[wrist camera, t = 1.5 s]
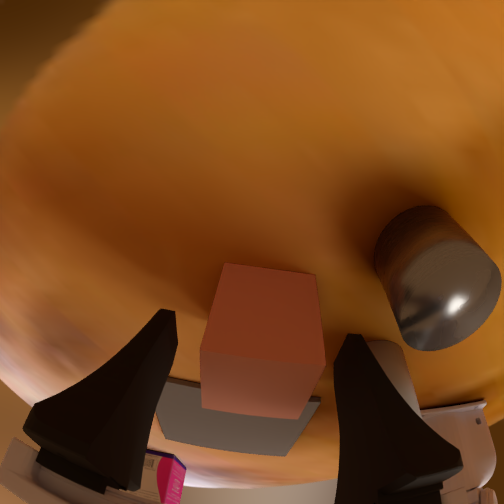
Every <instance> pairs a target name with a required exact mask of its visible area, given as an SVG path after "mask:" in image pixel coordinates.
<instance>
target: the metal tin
mask: <svg viewBox="0 0 504 504" xmlns="http://www.w3.org/2000/svg"><path fill="white" fill-rule="evenodd" d="M374 263H375V268H376V271H377V273H378V276H379V278H380V281H381V283H382V285H383V288H384V290H385V293H386V295H387V298H388V300H389V303H390V305H391V308H392V311H393V313H394V316H395V319H396V321H397V324H398V327H399V329H400V332H401V335H402V337H403V339H404V341H405V342H406V343H407V344H408V345H409V346H411V347H412V348H414V349H417V350H422V351H435V350H440V349H444V348H447V347H450V346H452V345H455V344H457V343H459V342H461V341H462V340H464V339H465V338H467V337H468V336H470V335H471V334H472V333H474V332H475V331H476V330H477V329H478V328H479V327H480V326H481V325H482V324H483V323H484V322H485V321H486V319H487V318H488V317H489V315H490V314H491V312H492V311H493V309H494V307H495V305H496V303H497V301H498V298H499V295H500V291H501V274H500V271H499V269H498V267H497V266H496V264H495V263H494V262H493V261H492V260H491V258H490V257H489V256H488V255H487V254H486V253H485V252H484V250H483V249H482V248H481V247H480V246H479V245H478V244H477V243H476V242H475V241H474V240H473V238H472V237H471V236H470V235H469V234H468V233H467V232H466V231H465V230H464V229H463V228H462V227H461V226H460V225H459V224H458V223H457V222H456V221H455V220H454V219H453V218H452V217H451V216H450V215H449V214H448V213H446V212H445V211H444V210H442V209H440V208H438V207H435V206H426V205H424V206H417V207H413V208H410V209H408V210H406V211H404V212H402V213H400V214H399V215H398V216H396V217H395V218H394V219H393V220H392V221H390V223H389V224H388V225H387V226H386V227H385V229H384V230H383V231H382V233H381V235H380V237H379V239H378V241H377V244H376V247H375V252H374Z"/></svg>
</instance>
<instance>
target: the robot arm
mask: <svg viewBox="0 0 504 504" xmlns="http://www.w3.org/2000/svg"><path fill="white" fill-rule="evenodd" d="M177 345H178V338H177V328H176V316H175V311H172V310H166V309H160V310H159V311H158V312H157V313H156V314H155V315H154V316H153V317H152V318H151V320H150V321H149V322H148V323H147V324H146V325H145V326H144V327H143V328H142V329H141V330H140V332H139V333H138V334H137V335H136V336H135V337H134V338H133V339H132V340H131V341H130V342H129V343H128V344H127V345H126V346H124V347H123V348H122V349H121V350H120V351H119V352H118V353H117V354H116V355H115V356H113V357H112V358H111V359H110V360H109V361H107V362H106V363H105V364H104V365H102V366H101V367H100V368H99V369H97V370H96V371H94V372H93V373H92V374H90V375H89V376H87V377H86V378H84V379H83V380H81V381H80V382H78V383H76V384H75V385H73V386H71V387H69V388H67V389H66V390H64V391H62V392H60V393H58V394H56V395H54V396H52V397H49V398H47V399H45V400H42V401H40V402H38V403H35V404H34V406H33V408H32V409H31V411H30V413H29V415H28V417H27V419H26V421H25V424H24V426H23V431H24V432H25V433H26V434H27V435H28V436H29V437H30V438H31V439H32V440H33V441H34V442H36V443H37V444H38V445H39V446H40V447H41V449H40V451H39V452H38V451H37V450H35V449H34V448H32V447H30V446H29V445H27V444H25V443H24V442H22V441H20V440H19V439H17V438H16V437H13V438H12V440H11V443H10V445H9V447H8V449H7V452H6V454H5V456H4V459H3V461H2V463H1V466H0V484H1V485H2V486H4V487H5V488H7V489H8V490H9V491H11V492H12V493H13V494H15V495H16V496H18V497H19V498H20V499H22V500H23V501H25V502H26V503H28V504H163V503H159V502H156V501H152V500H148V499H145V498H142V497H138V496H135V495H132V494H129V493H126V492H123V491H120V490H119V489H122V490H125V491H127V490H129V491H132V492H135V491H137V490H139V489H140V488H141V480H142V472H143V466H144V460H145V454H146V449H147V444H148V439H149V434H150V430H151V426H152V421H153V417H154V413H155V410H156V407H157V404H158V402H159V399H160V396H161V394H162V391H163V388H164V386H165V383H166V381H167V378H168V375H169V373H170V370H171V367H172V365H173V361H174V357H175V353H176V349H177ZM334 389H335V397H336V405H337V412H338V420H339V430H340V455H339V472H338V482H337V490H336V497H335V503H334V504H498V502H497V498H496V495H495V492H494V490H491V489H489V488H485V489H484V490H483V489H482V488H480V487H482V486H483V485H484V484H485V483H487V482H488V480H489V479H490V478H491V476H492V474H493V472H494V469H495V465H496V453H495V449H494V445H493V442H492V438H491V435H490V431H489V428H488V425H487V422H486V419H485V416H484V413H483V410H482V408H483V407H484V406H485V405H486V404H487V403H486V400H484V401H479V402H474V403H468V404H462V405H456V406H450V407H443V408H435V409H427V410H420V412H421V416H422V419H421V418H420V417H419V416H418V415H417V414H416V412H415V411H414V410H413V409H412V408H411V407H410V406H409V404H408V403H407V402H406V401H405V400H404V399H403V397H402V396H401V395H400V393H399V392H398V391H397V389H396V388H395V387H394V385H393V384H392V382H391V381H390V380H389V378H388V377H387V375H386V373H385V372H384V370H383V369H382V367H381V366H380V364H379V363H378V361H377V359H376V358H375V356H374V354H373V353H372V351H371V350H370V348H369V346H368V345H367V343H366V341H365V340H364V338H363V337H362V335H361V334H348V335H347V337H346V339H345V341H344V343H343V345H342V347H341V349H340V351H339V353H338V355H337V357H336V359H335V361H334Z"/></svg>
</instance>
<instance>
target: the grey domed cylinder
mask: <svg viewBox="0 0 504 504" xmlns="http://www.w3.org/2000/svg"><path fill="white" fill-rule="evenodd" d="M366 343H367V345H368V346H369V348H370V350H371V351H372V353H373V354H374V356H375V358H376V359H377V361H378V363H379V364H380V366H381V367H382V369H383V370H384V372H385V373H386V375H387V377H388V378H389V380H390V381H391V382H392V384H393V385H394V387H395V388H396V389H397V391H398V392H399V393H400V395H401V396H402V397H403V399H404V400H405V401H406V402H407V403H408V404H409V406H410V407H411V408H412V409H413V410H414V411H415V412H416V414H417V415H418V416H419V417H420V418H421V419H422V416H421V412H420V408H419V404H418V401H417V397H416V393H415V390H414V386H413V383H412V379H411V376H410V372H409V369H408V366H407V363H406V359H405V356H404V353H403V350H402V348H401V347H400V346H399V345H398V344H396V343H394V342H391V341H385V340H377V341H370V342H366Z"/></svg>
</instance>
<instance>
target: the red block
mask: <svg viewBox="0 0 504 504" xmlns="http://www.w3.org/2000/svg"><path fill="white" fill-rule="evenodd" d="M325 367H326V359H325V349H324V340H323V331H322V323H321V315H320V307H319V299H318V292H317V285H316V278H315V275H312V274H305V273H297V272H290V271H283V270H275V269H268V268H261V267H254V266H247V265H240V264H233V263H226V262H225V263H224V267H223V270H222V273H221V277H220V280H219V284H218V287H217V290H216V294H215V297H214V301H213V304H212V308H211V311H210V315H209V318H208V322H207V326H206V329H205V333H204V336H203V340H202V343H201V347H200V376H201V399H202V408H205V409H211V410H217V411H223V412H230V413H237V414H244V415H252V416H261V417H271V418H283V419H298V418H299V417H300V415H301V413H302V411H303V409H304V408H305V406H306V404H307V402H308V400H309V398H310V396H311V394H312V393H313V391H314V389H315V387H316V385H317V383H318V381H319V379H320V377H321V375H322V373H323V371H324V369H325Z"/></svg>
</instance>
